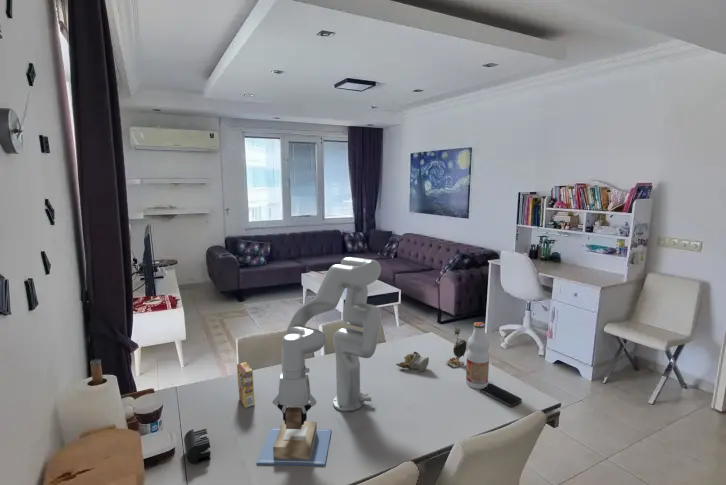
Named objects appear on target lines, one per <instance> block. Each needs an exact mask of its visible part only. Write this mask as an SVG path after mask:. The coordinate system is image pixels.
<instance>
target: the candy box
mask: <svg viewBox="0 0 726 485" xmlns="http://www.w3.org/2000/svg"><path fill="white" fill-rule="evenodd" d="M236 371H237V373H236V374H237V385H238V386H237V388H238V399H239V400H240V402H241V404H242V405H243V407H244V408H245V409H247V408H249V407H252V406H255V401H256V400H255V389H254V375H253V374H254V372H253V369H252V367H251V366H250V365H249V364H248V363H247V361H246V362H244V361H243V362H241V363H237V364H236Z"/></svg>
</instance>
